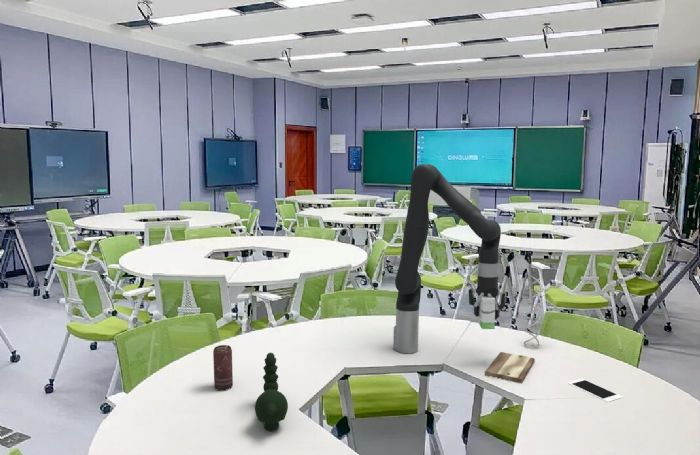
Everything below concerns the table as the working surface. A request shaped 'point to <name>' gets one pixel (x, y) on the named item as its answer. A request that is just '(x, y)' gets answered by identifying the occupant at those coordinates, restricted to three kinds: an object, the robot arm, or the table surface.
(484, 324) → the ink box
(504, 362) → the floorboard
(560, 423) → the table surface
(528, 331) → the dna model
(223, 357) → the can
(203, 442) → the table surface
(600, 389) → the cell phone
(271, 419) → the dark green knobbed piece
